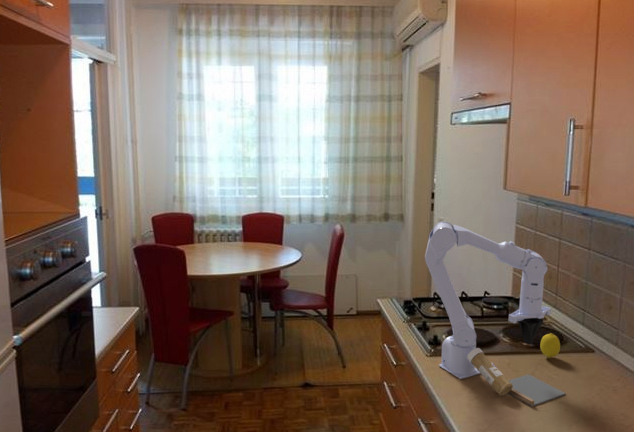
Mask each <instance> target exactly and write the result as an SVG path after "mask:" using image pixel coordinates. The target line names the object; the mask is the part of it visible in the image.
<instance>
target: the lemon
mask: <svg viewBox="0 0 634 432" xmlns="http://www.w3.org/2000/svg"><path fill="white" fill-rule="evenodd" d="M539 345H540V346H539V347H540V351H541V353H542V354H543V355H544V356H546V357H547V358H548V359H551V358H553V357H556V356H557V355H559V352H560V350H561V343H560V339H559V337H558V336H557V335H555V334H554V333H552V332H550V333H547V334H545V335H543V336H542V337H541V339H540V344H539Z"/></svg>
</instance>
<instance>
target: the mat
mask: <svg viewBox="0 0 634 432" xmlns="http://www.w3.org/2000/svg"><path fill="white" fill-rule="evenodd" d="M508 381H509V382H510V383H512V384H513V387H512V389H511V390H510V391H509V392H508V393H507V394H508V395H510V396H512V397H513V398H515V399H517V400H519V401H521V402H522V403H524V404H525V405H527V406H529V407H531V408H532V407H535V406H538V405H541V404H544V403H546V402H548V401H551V400H552V401H553V400H555V399H558V398H560V397H563V396H566V392H564V391H562V390H560V389H559V388H556V387H554V386H552V385H550V384H549V383H546V382H544V381H543V380H540V379H539V378H536V377H535V376H533V375H531V374H525V375H522V376H519V377H516V378H511V379H508Z"/></svg>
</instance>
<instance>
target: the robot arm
mask: <svg viewBox="0 0 634 432" xmlns="http://www.w3.org/2000/svg"><path fill="white" fill-rule="evenodd" d="M426 245H427V246H426V250H425V254H424V261H425V264H426V266H427V268H428V270H429V273H430V275H431V278H432V280H433V283H434V285H435V287H436V290H437V292H438V294H439V297H440V299H441V301H442V304H443V305H444V309H445V311H446V313H447V315H448V318H449V322H450V324H451V329H452V335H450V336H447V337H446V338H445V339H444V340H443V342H442V344H441V361H440V362H441V363H439V364H438V366H439V367H440V368H442V369H443V370H445V371H447V372H448V373H450V375H452V376H455V377H456V378H458V379H460V380H463V379H467V378H469V377H474V376H478V375H479V374H480V375H481V373H480V372H479V371H478V370H477V368H476V367H475V366H474V365H473V364H472V363H470V361H469V360H468V359H467V356H468V354H469V353H470V352H471V351H472V350H473V349H475V348H477V332H476V330H475V325H474V321H473V319H472V318H471V317H470V316H469V315H467V312H466V310H465V309H464V306H463V305H462V303H461V300H460V298H459V295H458V293H457V290H456V288H455V286H454V283H453V281H452V279H451V276H450V274H449V271H448V269H447V267H446V264H445V263H444V258H445V256H446V255H447V253H448V252H449V251H451V249H452V248H453V247H454V246H455V245H456V246H457V247H461V246H465V245H468V246H472V247H475V248H476V249H480V250H482V251H484V252H487V253H491V254H493V256H495V259H496V261H498V262H500V263H503V264H505V265H507V266H510V267H512V268H515V269H517V270H522V271H521V272H522V273H521V282H520V295H519V307H518V309H517V310H515V311H513V312H512V313H509V314H508V320H507V321H508V322H510V323H512V324H518V325H519V328H520V330H521V333H522V334H521V335H522V340H523V342H524V343H526V344H529V345H531V344H533V343H534V341H535V337H536V335H537V333H538V331H539V329H540V327H541V326H542V325H543V323H544V318H545V316H551V314H552V308H551V307H549V306H545V305H544V306H543V296H544V284H545V283H544V282H545V281H544V278H545V275H546V273H547V271H548V269H549V268H548V266H547V262H546V260H545V259H544V258H543V257H542V255H540V254H539V253H537V252H536V251H535V250H531V249H530V248H527V249H525V248H522V247H520V246H517V245H516V243H515V242H513V241H510V240H509V242H508V241H506V240H505V241H502V242H500V243H498V242H496V241H494V240H492V239H490V238H487V237H485V236H483V235H481V234H479V233H476V232H474V231H473V230H469V229H468V228H465V227H463V226H460V225H459V224H458V225H457V224H451V223H450V222H448V221H440V222H438V223H436V224H435V225H434V226H433V227H432V229H431V231H430V233H429V236H428V241H427V244H426Z"/></svg>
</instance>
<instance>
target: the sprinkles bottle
mask: <svg viewBox="0 0 634 432" xmlns="http://www.w3.org/2000/svg"><path fill="white" fill-rule="evenodd" d="M467 359H468V360H469V361H470V363H472V364H473V365H474V366H475V368H476V369H477V370H478V371H479V372H480V375H481V376H482V377H483V378H484V379H485V380H486V382H487V383H488V384H489V385H490V386H491V387H492V388H493V389H494V390H495V392H497V393H498V395H499V396H500V397H502V396H505V395H507V394H508V392H509V391H510V390H511V389H512V387H513V384H512V383H510V382H509V379H508V378H506V376H505V375H504V374H503V373H502V372H501V370H500V369H499V368H498V367H497V366H496V365H495V364H494V363H493V362H492V361H491V360H490V359H489V358H488V356H487V355H485V352H484V351H482V349H481V348H480V347H476V348H475V349H473V350H472V351H471V352H470V353H469V354H468V356H467Z"/></svg>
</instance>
